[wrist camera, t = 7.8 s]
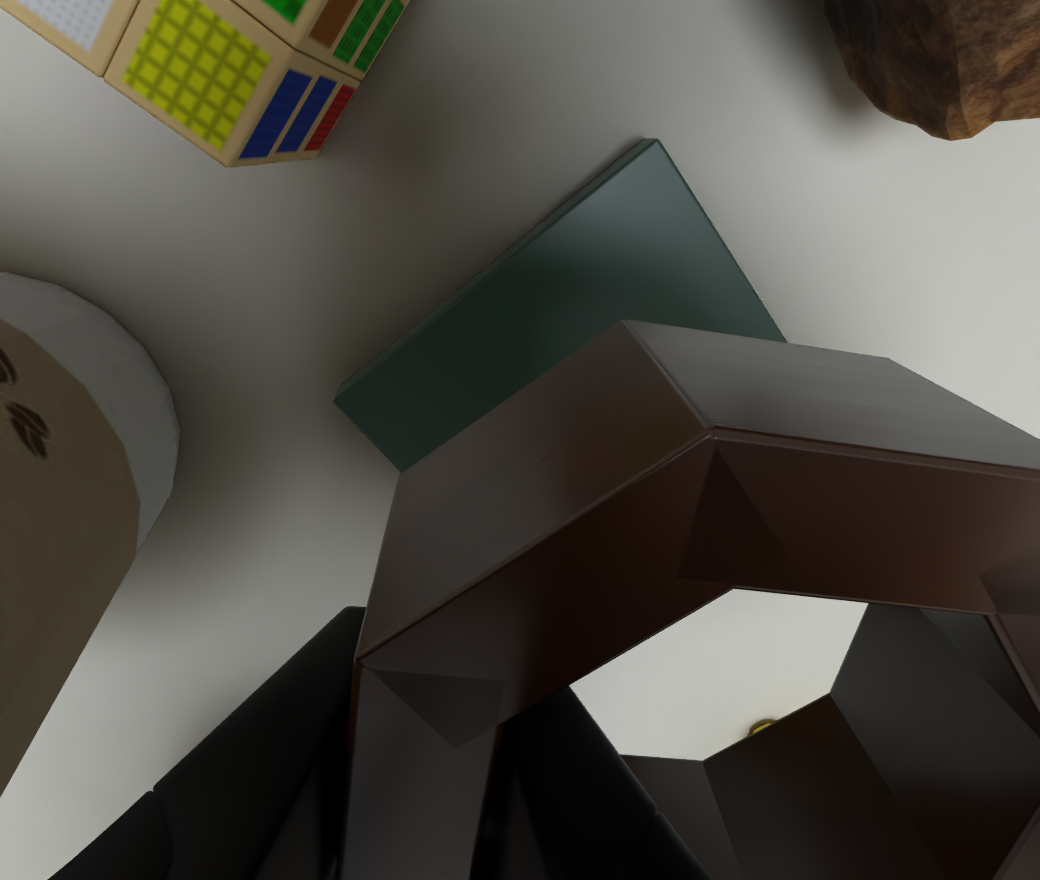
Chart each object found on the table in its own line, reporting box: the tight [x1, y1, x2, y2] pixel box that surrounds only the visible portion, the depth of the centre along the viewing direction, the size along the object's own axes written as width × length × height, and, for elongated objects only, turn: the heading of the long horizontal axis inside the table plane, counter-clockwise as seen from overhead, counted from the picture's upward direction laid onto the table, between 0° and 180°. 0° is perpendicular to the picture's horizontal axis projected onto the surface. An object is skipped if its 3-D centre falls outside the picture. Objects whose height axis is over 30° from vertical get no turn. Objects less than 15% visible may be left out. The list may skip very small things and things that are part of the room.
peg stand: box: [333, 138, 787, 473], centre depth 15 cm, size 9×9×6 cm
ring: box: [335, 319, 1040, 880], centre depth 9 cm, size 8×8×4 cm
